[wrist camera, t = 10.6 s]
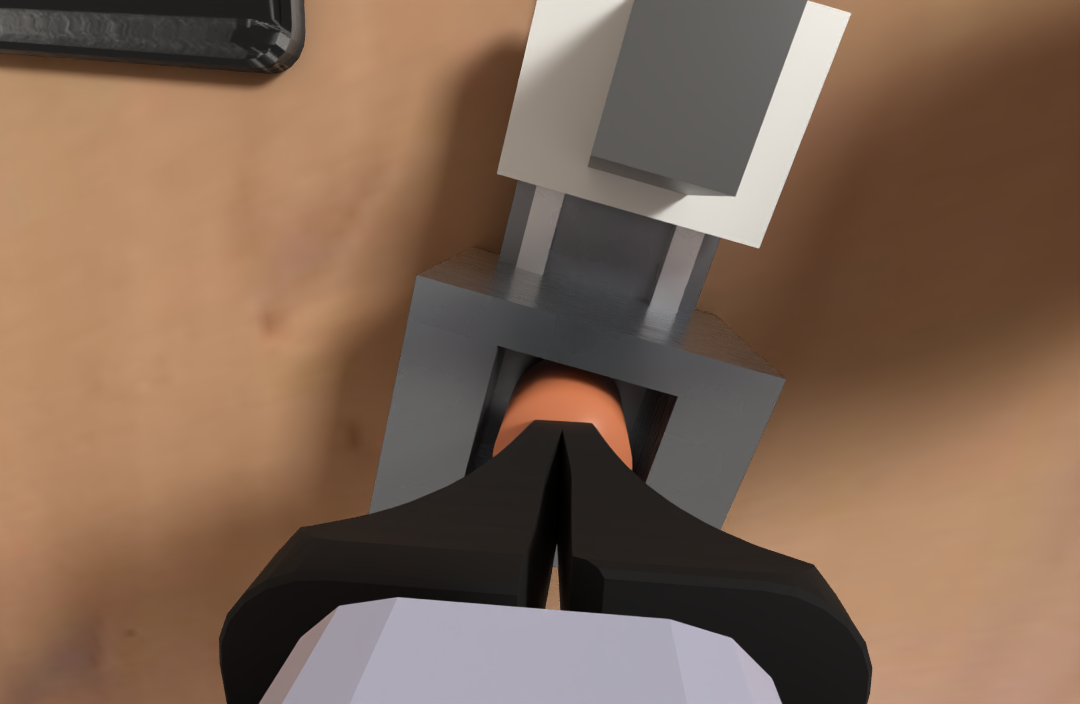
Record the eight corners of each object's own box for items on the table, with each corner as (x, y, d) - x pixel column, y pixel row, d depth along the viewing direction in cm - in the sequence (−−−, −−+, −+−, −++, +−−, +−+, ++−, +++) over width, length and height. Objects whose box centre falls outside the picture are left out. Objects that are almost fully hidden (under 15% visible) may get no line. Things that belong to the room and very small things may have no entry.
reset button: (636, 374, 14) (651, 421, 11) (602, 472, 15) (608, 540, 12) (525, 343, 14) (511, 382, 11) (498, 443, 15) (478, 503, 12)
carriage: (811, 39, 13) (993, -81, 7) (735, 241, 14) (836, 273, 9) (558, -34, 13) (540, -213, 7) (508, 176, 14) (459, 165, 9)
